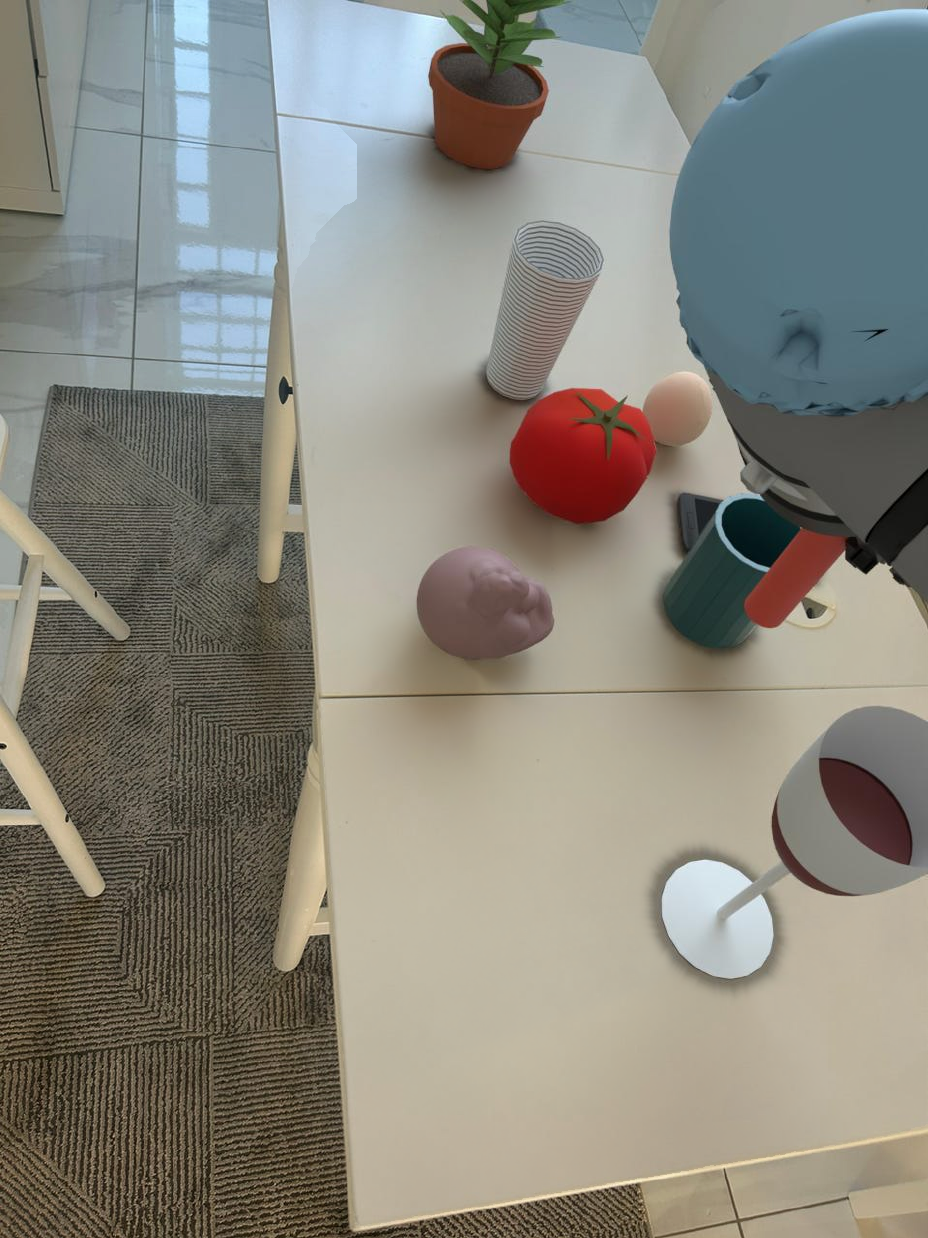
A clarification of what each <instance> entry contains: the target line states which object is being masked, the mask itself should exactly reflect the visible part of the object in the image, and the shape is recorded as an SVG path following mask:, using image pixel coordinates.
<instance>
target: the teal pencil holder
mask: <svg viewBox="0 0 928 1238" xmlns="http://www.w3.org/2000/svg"><path fill="white" fill-rule="evenodd" d="M723 500H724V501H722V502H721V503H720V504H719V506H718V507H717V509H716V510H715V512H714V513H713V515H712V516H711V518H710V519H709V521H708V522H707V524H706V525H705V527H704V529H703V530H702V532H701V533H700V535H699V536H698V538H697V539H696V541H695V542H694V544H693V545H692V547H691V548H690V550H689V551H688V553H685V554H686V555H685V556H684V557H683V559H682V561H681V562H680V563H679V566H678V567H677V568H676V570H675V571H674V573H673V574H672V575H671V577H670V579H669V581H668V583H667V584H666V586H665V588H664V591H663V596H662V603H663V609H664V612H665V613H666V616H667V618H668V619H669V621H670V623H671V624H672V626H673V627H674V628H675V629H676V630H677V631H678V632H679V633H680V634H681V635H682V636H684V637H685V638H686V639H687V640H689V641H691V642H692V643H695V644H696V645H699V646H702V647H705V648H708V649H714V650H725V649H731V648H735V647H736V646H739V645H740V644H742V643H743V642H744V641H746V639H747V638H748V637H749V636H750V635H751V634H752V633H753V631H754V630H755V629H756V628H757V626H758V625H757V624H756V623H754V622H753V621H752V620H751V619H750V618H749V617H748V615H747V613H746V611H745V607H744V604H745V600H746V598H747V597H748V596H749V595H750V593H751V592H752V591H753V590H754V588H755V587H756V586H757V584H758V583H759V582H760V581H761V579H762V578H763V577H764V576H765V574H766V573H767V572H768V570H769V569H770V568H771V567H772V565H773V564H774V563H775V562H776V560H777V559H778V558H779V556H780V555H781V554H782V553H783V551H784V550H785V549H786V548H787V546H788V545H789V544H790V542H791V541H792V540H793V539H794V537H795V536H796V535H797V534H798V532H799V531H800V530H801V527H799V526H797V525H794V524H793V523H791V522H789V521H787V520H786V519H784V518H783V517H782V516H780V515H779V514H778V513H776V512H775V511H774V510H773V509H772V508H771V507H770V506H769V505H768V504H767V503H766V502H765V501H764V500H763V498H762V497H761V496H760V494H755V493H745V492H744V493H743V492H742V493H738V494H734V495H730V496H728V497H726V498H725V499H723Z"/></svg>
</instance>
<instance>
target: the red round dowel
mask: <svg viewBox="0 0 928 1238" xmlns="http://www.w3.org/2000/svg"><path fill="white" fill-rule="evenodd" d="M848 538H849V537H836V536H828V535H823V534H818V533H815V532H811V531H809V530H806V529H803V528H801V530H800V531H799V532H798V534H797V535H796V536H795V537H794V539H793V540H792V541H791V542H790V544H789V545H788V546H787V548H786V549H785V550H784V551H783V553H782V554H781V555H780V556H779V558H778V559H777V560H776V562H775V563H774V564H773V565H772V567H771V568H770V569H769V570H768V572H767V573H766V574H765V576H764V577H763V578H762V579H761V581H760V582H759V583H758V584H757V586H756V587H755V588H754V590H753V591H752V592H751V593H750V595H749V596H748V597H747V598H746V600H745V604H744V607H745V611H746V613H747V615H748V617H749V618H750V619H751V620H752V621H753V622H754V623H756V624H757V626H760V627H762V628H764V629H775V628H778V627H780V626H781V625H782V624H783V623H784V621H785V620H786V619H787V618H788V617H789V616H790V615H791V613H792V612H793V611H794V610H795V609H796V608H797V607H798V605H799V604H800V603H801V602H802V601H803V600H804V598H805V597H806V596H808V594H809V593H810V592H811V590H812V589H813V588H814V587H815V586H816V584H817V583H818V582H819V581H820V580H821V579H822V577H823V576H824V575H825V574H826V573H827V572H828V571H829V570H830V568H831V567H832V566H833V565H834V564H835V563H836V562H837V560H838V559H839V558H840V557H841V556H842V555H843V553H845V550H846V547H845V541H846V540H847V539H848Z"/></svg>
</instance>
